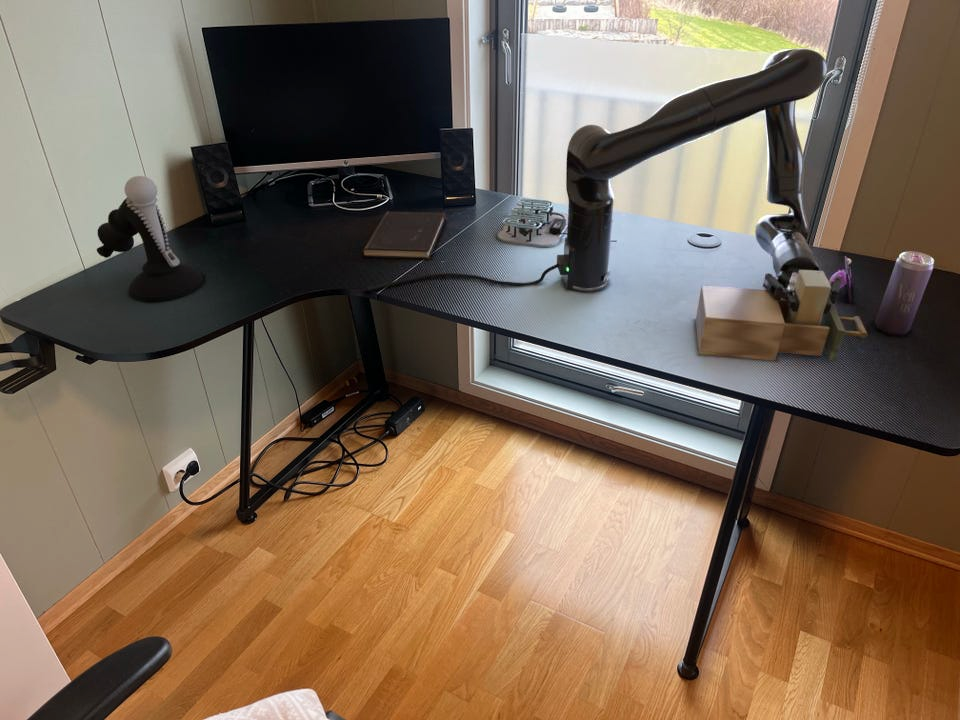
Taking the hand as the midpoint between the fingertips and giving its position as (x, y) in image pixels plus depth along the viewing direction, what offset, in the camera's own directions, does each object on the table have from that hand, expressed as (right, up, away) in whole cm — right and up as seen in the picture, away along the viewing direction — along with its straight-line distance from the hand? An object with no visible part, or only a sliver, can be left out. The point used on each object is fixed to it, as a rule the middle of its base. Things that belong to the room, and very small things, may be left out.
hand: (811, 308), depth 124 cm
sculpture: (-133, +8, +34) cm, 137 cm away
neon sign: (-38, +23, +53) cm, 69 cm away
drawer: (+3, -6, +7) cm, 9 cm away
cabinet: (-10, -5, +9) cm, 15 cm away
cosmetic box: (+1, -5, +7) cm, 8 cm away
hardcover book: (-77, +21, +51) cm, 95 cm away
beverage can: (+21, -3, +12) cm, 24 cm away
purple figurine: (+17, +5, +24) cm, 30 cm away
